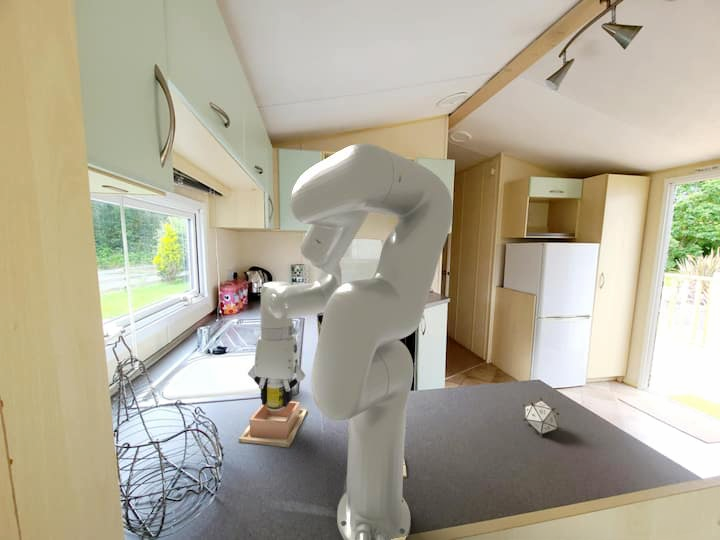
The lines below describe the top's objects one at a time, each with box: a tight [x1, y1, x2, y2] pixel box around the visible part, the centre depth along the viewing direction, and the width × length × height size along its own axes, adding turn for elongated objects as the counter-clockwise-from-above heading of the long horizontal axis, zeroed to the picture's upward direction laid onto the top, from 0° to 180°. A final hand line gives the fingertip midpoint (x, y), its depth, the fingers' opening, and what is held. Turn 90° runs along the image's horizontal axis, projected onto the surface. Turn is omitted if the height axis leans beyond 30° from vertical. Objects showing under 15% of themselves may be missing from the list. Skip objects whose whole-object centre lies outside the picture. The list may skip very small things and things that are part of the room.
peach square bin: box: [249, 400, 301, 439], centre depth 71 cm, size 9×9×4 cm
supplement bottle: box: [267, 378, 285, 411], centre depth 71 cm, size 5×5×8 cm
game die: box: [521, 397, 563, 438], centre depth 73 cm, size 9×8×10 cm
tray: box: [238, 408, 308, 448], centre depth 71 cm, size 14×12×2 cm
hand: (276, 402), depth 71 cm, fingers closed on supplement bottle, 4 cm apart
